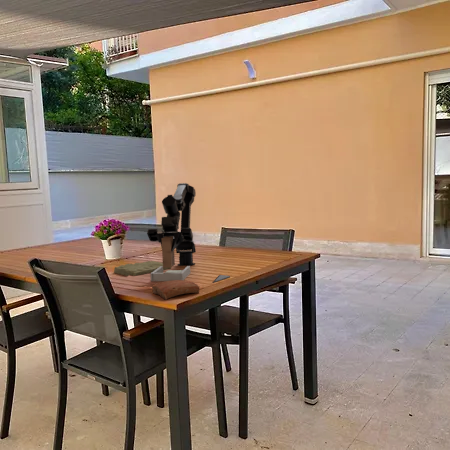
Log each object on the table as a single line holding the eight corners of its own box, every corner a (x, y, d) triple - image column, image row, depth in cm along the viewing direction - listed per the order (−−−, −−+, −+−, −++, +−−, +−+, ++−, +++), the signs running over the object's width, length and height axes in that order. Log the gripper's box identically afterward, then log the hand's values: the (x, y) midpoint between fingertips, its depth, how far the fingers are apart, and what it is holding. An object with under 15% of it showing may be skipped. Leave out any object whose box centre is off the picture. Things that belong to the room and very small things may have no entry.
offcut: (168, 273, 194) (168, 270, 194) (182, 273, 193) (182, 270, 193) (165, 275, 190) (164, 272, 190) (179, 276, 189) (179, 272, 188)
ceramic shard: (181, 273, 174) (201, 285, 162) (178, 288, 175) (198, 302, 163) (147, 274, 165) (166, 286, 154) (144, 290, 166) (163, 304, 154)
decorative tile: (171, 271, 206) (171, 263, 206) (134, 279, 192) (134, 271, 192) (148, 266, 220) (148, 259, 219) (112, 273, 206) (112, 266, 205)
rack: (160, 275, 196) (160, 266, 195) (190, 274, 194) (190, 265, 194) (150, 283, 181) (150, 273, 180) (182, 283, 179) (182, 273, 179)
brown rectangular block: (166, 264, 187) (165, 236, 186) (174, 264, 187) (173, 236, 185) (163, 267, 181) (161, 238, 180) (171, 267, 181) (169, 238, 180)
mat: (208, 274, 194) (208, 273, 194) (230, 277, 187) (230, 276, 187) (190, 279, 185) (190, 278, 185) (212, 282, 177) (212, 281, 177)
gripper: (147, 210, 187) (140, 239, 177) (190, 208, 184) (186, 238, 175) (153, 226, 195) (147, 255, 186) (194, 225, 193) (190, 254, 183)
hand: (167, 250), depth 182 cm, fingers closed on brown rectangular block, 3 cm apart
